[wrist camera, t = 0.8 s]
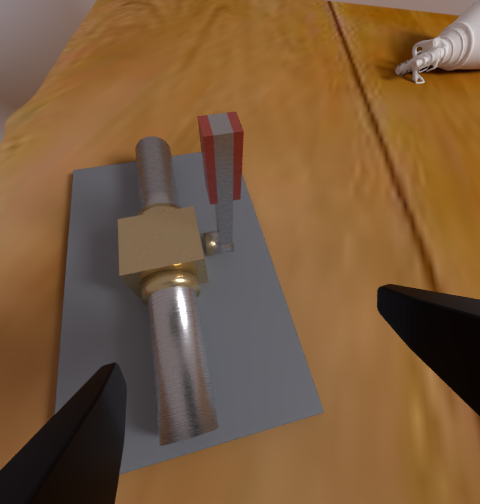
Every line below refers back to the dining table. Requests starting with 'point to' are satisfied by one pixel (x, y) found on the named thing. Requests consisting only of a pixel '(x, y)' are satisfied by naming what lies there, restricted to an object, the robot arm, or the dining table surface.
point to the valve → (169, 294)
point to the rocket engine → (449, 47)
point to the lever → (221, 174)
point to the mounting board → (210, 310)
